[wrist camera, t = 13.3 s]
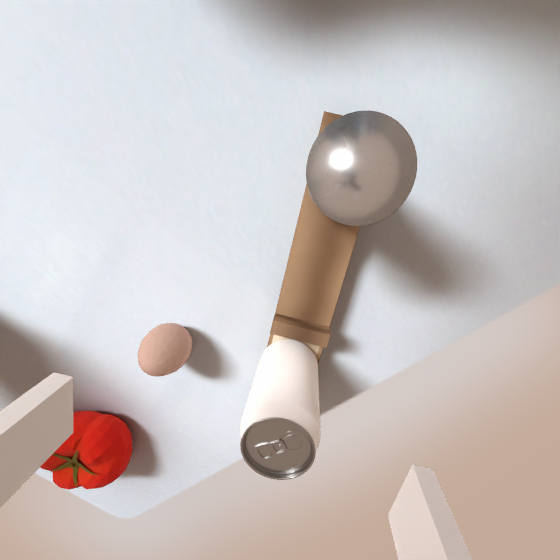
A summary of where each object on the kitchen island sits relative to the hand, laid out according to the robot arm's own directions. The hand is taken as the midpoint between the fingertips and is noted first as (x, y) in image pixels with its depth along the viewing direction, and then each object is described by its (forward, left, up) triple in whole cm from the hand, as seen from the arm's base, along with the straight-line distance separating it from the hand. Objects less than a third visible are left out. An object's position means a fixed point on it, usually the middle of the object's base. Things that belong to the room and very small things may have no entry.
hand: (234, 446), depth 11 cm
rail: (+3, +1, -23) cm, 24 cm away
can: (+3, -8, -21) cm, 23 cm away
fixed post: (+3, +11, -21) cm, 24 cm away
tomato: (-20, -28, -24) cm, 42 cm away
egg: (-11, -10, -24) cm, 28 cm away
